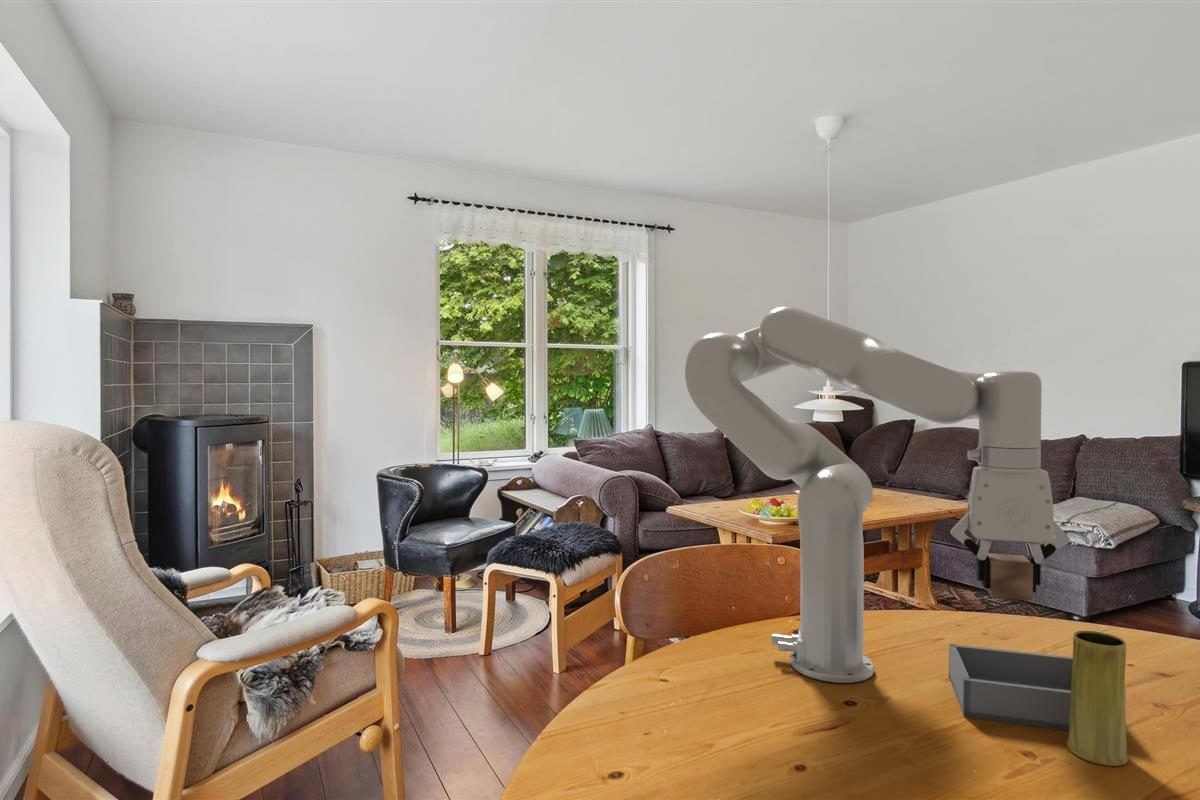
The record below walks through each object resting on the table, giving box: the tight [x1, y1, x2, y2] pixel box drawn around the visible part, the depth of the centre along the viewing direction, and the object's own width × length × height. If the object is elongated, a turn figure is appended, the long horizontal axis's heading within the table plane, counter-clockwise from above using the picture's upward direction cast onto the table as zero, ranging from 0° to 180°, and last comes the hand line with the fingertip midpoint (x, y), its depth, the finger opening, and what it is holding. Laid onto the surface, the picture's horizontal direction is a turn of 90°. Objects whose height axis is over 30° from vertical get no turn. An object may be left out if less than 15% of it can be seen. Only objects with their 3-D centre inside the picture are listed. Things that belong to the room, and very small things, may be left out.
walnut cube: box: [985, 552, 1034, 601], centre depth 99 cm, size 5×5×5 cm
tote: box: [948, 643, 1073, 732], centre depth 98 cm, size 18×14×5 cm
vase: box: [1066, 630, 1129, 767], centre depth 85 cm, size 6×6×14 cm
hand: (1007, 586), depth 99 cm, fingers closed on walnut cube, 4 cm apart
